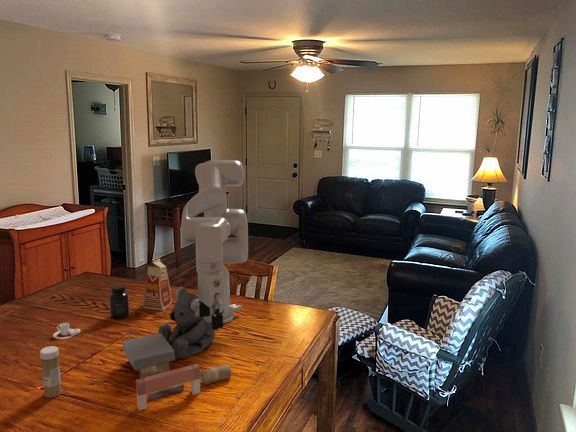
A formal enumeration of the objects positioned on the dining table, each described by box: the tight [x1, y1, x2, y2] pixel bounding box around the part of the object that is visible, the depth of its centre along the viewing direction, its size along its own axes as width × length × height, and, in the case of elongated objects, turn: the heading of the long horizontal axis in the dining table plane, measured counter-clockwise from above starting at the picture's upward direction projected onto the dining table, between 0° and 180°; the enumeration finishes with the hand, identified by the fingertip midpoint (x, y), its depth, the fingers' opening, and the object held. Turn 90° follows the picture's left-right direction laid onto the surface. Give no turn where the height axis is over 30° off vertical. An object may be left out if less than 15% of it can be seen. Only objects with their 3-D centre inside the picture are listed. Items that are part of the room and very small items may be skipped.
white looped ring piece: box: [52, 322, 81, 340], centre depth 171 cm, size 9×8×4 cm
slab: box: [122, 333, 176, 371], centre depth 148 cm, size 12×14×3 cm
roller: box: [200, 363, 232, 386], centre depth 143 cm, size 8×4×4 cm
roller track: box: [135, 361, 185, 401], centre depth 145 cm, size 10×25×4 cm, turn 31°
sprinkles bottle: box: [39, 345, 63, 399], centre depth 133 cm, size 5×5×13 cm
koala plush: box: [157, 286, 216, 360], centre depth 162 cm, size 17×18×20 cm
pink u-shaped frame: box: [135, 363, 201, 412], centre depth 132 cm, size 17×2×8 cm, turn 121°
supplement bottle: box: [108, 284, 130, 321], centre depth 185 cm, size 7×7×12 cm
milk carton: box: [142, 258, 173, 311], centre depth 196 cm, size 9×9×20 cm
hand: (210, 322), depth 141 cm, fingers open, 9 cm apart
